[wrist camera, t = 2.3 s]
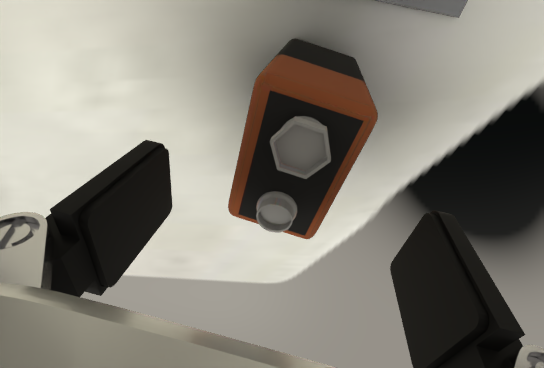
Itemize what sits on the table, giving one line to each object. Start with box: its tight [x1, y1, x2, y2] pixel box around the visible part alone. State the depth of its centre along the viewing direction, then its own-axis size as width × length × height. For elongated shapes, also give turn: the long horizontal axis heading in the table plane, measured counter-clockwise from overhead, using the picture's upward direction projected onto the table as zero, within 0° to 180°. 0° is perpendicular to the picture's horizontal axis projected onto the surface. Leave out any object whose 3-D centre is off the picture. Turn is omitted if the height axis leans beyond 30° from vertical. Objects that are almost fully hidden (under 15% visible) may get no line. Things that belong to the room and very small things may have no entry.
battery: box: [228, 39, 378, 239], centre depth 14 cm, size 4×7×10 cm, turn 165°
